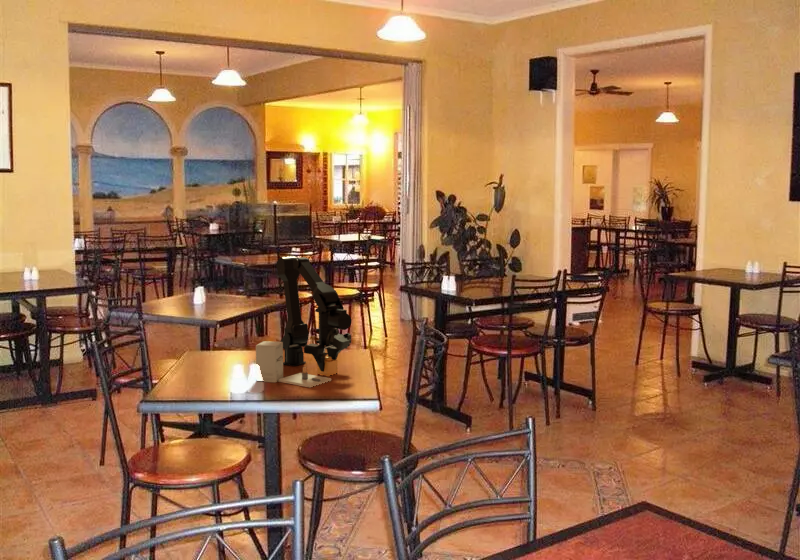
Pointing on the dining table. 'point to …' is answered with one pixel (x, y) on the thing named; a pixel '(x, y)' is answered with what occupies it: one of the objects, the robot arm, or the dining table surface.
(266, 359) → the supplement box
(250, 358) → the dining table surface
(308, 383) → the cream base plate
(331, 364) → the orange domed cube
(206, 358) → the dining table surface
